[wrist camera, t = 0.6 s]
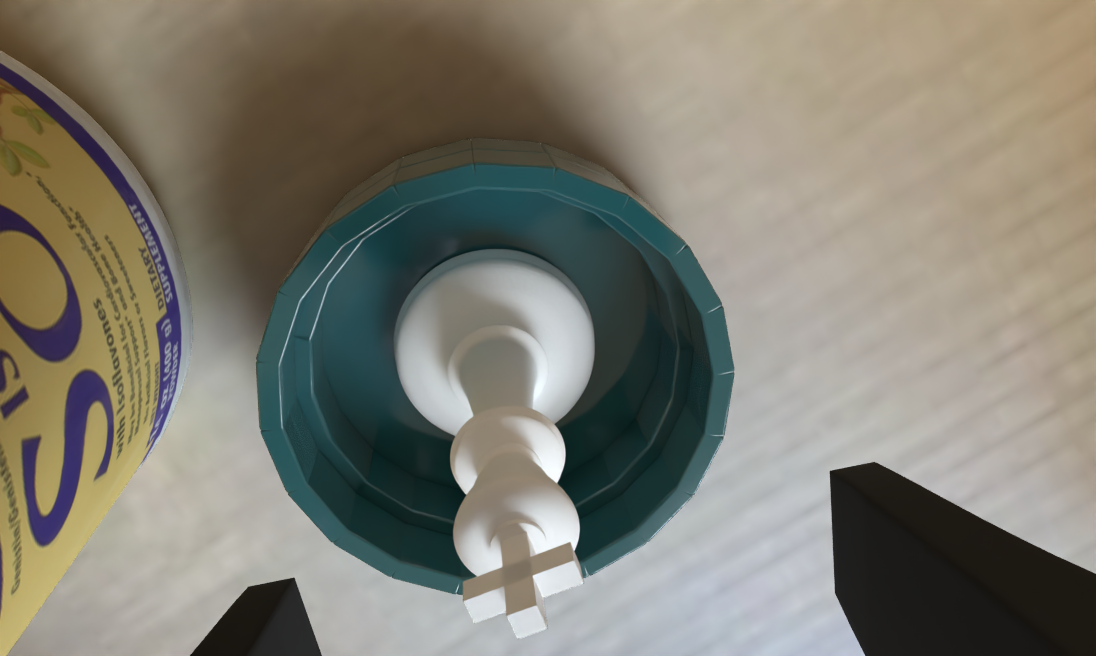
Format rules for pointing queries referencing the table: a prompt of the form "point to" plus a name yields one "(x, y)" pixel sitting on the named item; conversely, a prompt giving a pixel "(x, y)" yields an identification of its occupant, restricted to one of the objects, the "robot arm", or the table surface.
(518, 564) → the chess piece
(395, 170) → the bowl
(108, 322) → the supplement tub
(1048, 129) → the table surface
